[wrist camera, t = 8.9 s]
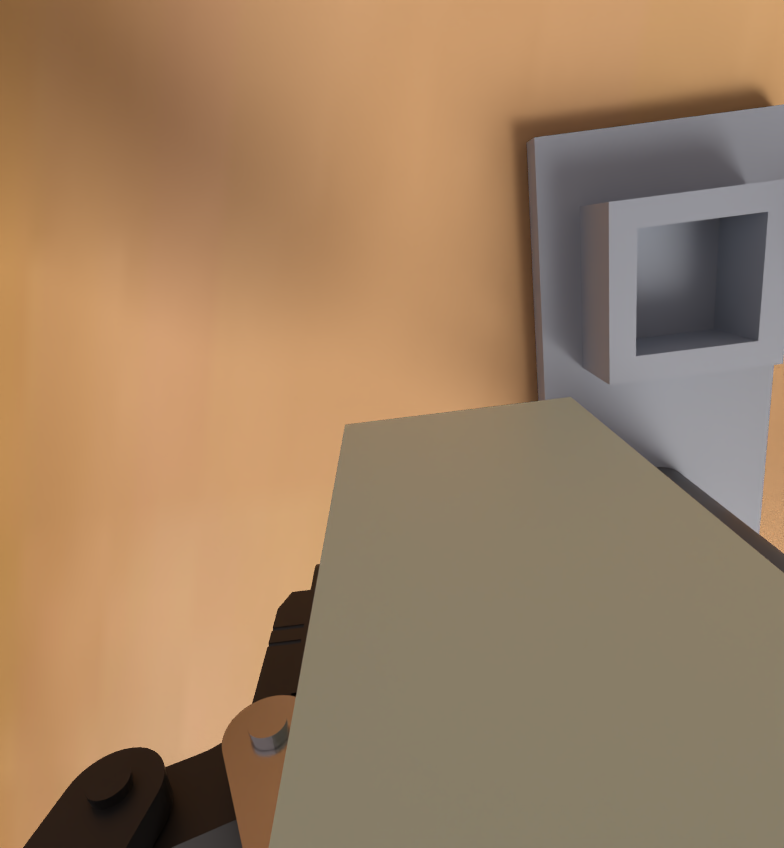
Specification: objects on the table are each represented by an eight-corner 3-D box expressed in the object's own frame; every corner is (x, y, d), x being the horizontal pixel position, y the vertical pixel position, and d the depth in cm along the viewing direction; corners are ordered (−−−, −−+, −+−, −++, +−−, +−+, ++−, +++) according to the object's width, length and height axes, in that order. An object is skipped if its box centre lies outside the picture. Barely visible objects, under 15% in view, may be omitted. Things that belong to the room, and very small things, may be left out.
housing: (570, 397, 14) (1274, 978, 3) (575, 590, 16) (1034, 1413, 5) (345, 424, 14) (224, 1089, 3) (374, 614, 16) (364, 1470, 5)
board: (775, 109, 23) (1067, 14, 13) (739, 581, 30) (914, 748, 20) (526, 142, 23) (633, 72, 13) (547, 603, 30) (628, 780, 20)
